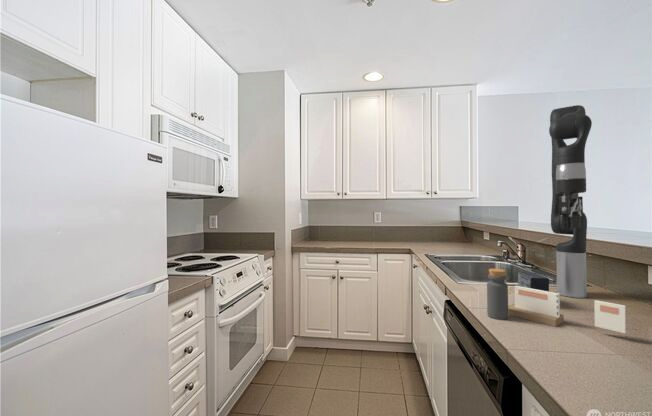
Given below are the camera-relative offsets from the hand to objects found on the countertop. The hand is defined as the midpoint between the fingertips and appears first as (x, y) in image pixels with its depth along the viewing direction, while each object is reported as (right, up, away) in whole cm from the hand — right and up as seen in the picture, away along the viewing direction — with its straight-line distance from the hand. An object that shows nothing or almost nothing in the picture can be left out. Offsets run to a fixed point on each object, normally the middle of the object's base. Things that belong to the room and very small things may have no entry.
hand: (571, 228), depth 96 cm
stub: (-3, -26, -16) cm, 31 cm away
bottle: (-24, -29, 0) cm, 37 cm away
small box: (-3, -29, +13) cm, 32 cm away
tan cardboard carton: (-13, -28, -2) cm, 31 cm away
